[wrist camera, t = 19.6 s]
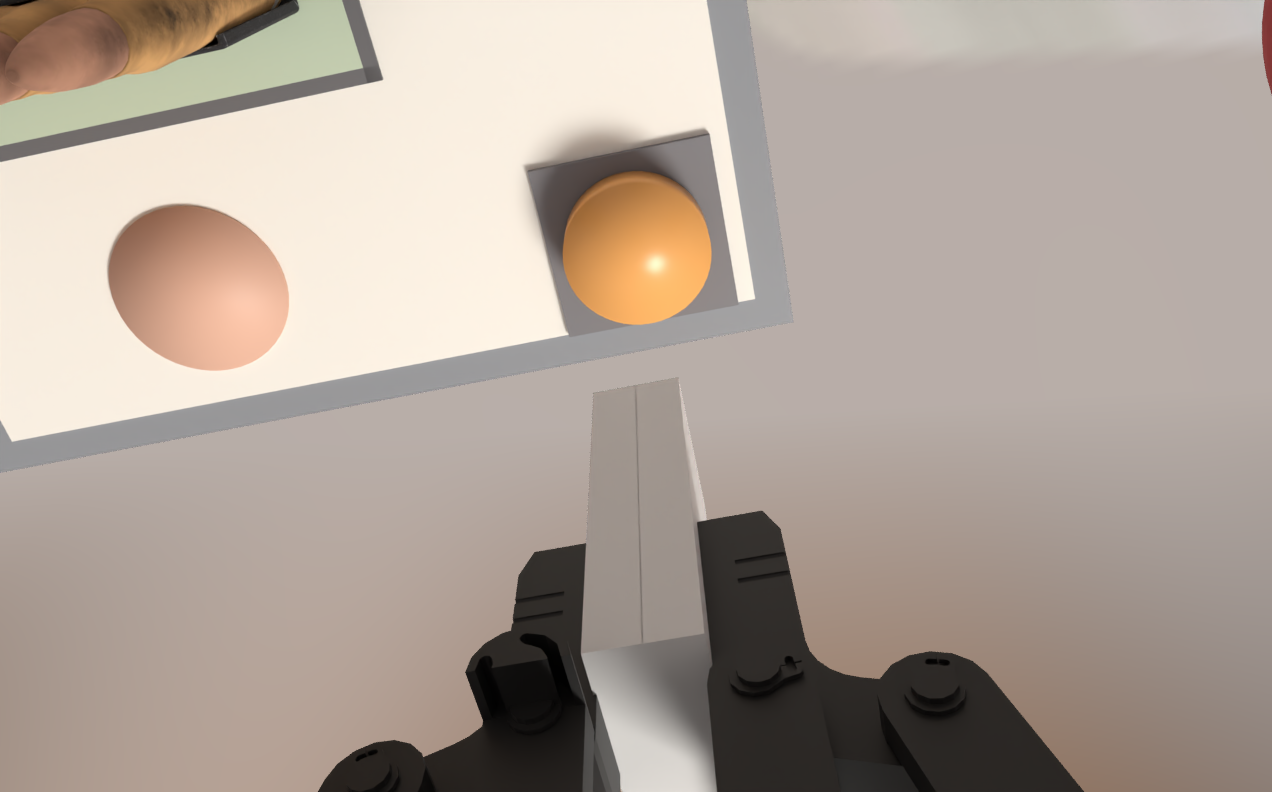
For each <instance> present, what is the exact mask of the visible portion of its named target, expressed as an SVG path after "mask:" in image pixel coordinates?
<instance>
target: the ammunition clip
mask: <svg viewBox="0 0 1272 792" xmlns="http://www.w3.org/2000/svg"><path fill="white" fill-rule="evenodd" d="M298 11H299V5H298V2H297V0H0V105H2V104H5V103H8V102H10V101H15V100H19V99H23V98H26V97H29V96H32V95H37V94H53V93H57V92H64V91H69V90H74V89H79V88H83V87H88V86H92V85H95V84H98V83H100V82H103V81H105V80H109V79H113V78H117V77H120V76H122V75H125V74H142V73H147V72H151V71H155V70H158V69H160V68H162V67H164V66H166V65H168V64H170V63H172V62H174V61H176V60H178V59H182V58H186V57H191V56H195V55H199V54H204V53H208V52H213V51H217V50H222V49H225V48H227V47H229V46H231V45H233V44H235V43H237V42H239V41H241V40H243V39H245V38H247V37H249V36H251V35H253V34H255V33H257V32H259V31H261V30H263V29H265V28H267V27H269V26H271V25H273V24H275V23H277V22H279V21H281V20H283V19H285V18H287V17H289V16H291V15H293V14H295V13H297V12H298Z"/></svg>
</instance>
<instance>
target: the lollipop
mask: <svg viewBox="0 0 1272 792" xmlns="http://www.w3.org/2000/svg"><path fill="white" fill-rule="evenodd" d="M1262 45H1263V57H1264V63H1265V69H1266V76H1267V79H1268V83H1269V86H1270V90H1271V94H1272V0H1265V2H1264V10H1263V20H1262Z"/></svg>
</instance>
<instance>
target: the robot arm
mask: <svg viewBox="0 0 1272 792" xmlns="http://www.w3.org/2000/svg"><path fill="white" fill-rule="evenodd" d="M515 600H516V604H515V607H514V614H513V624H512V629H511V631H508V632H505V633H502V634H500V635H499V636H497V637H495V638H494V639H492V640H490V641H488V642H487V643H485V644H484V645H483V646H482V647H481V648H480V649H479V650H478V651H477V652H476V653H475V654H474V655H473V656H472V658H471V660H470V662H469V665H468V667H467V670H466V672H465V673H466V675H467V678H468V681H469V683H470V686H471V689H472V692H473V694H474V697H475V700H476V703H477V705H478V708H479V710H480V714H481V716H482V719H483V725H482V727H481V728H480V729H478V730H477V731H476V732H474V733H473V734H472V735H470V736H469V737H467V738H465V739H463V740H461V741H459V742H457V743H456V744H454V745H451V746H449V747H446V748H444V749H442V750H439V751H437V752H435V753H432V754H430V755H428V756H425V757H423V756H422V753H421V752H419V751H418V750H417V749H416V748H415V747H414V746H412V745H411V744H409V743H405V742H400V741H396V740H392V741H384V742H376V743H373V744H371V745H368V746H366V747H363V748H361V749H358V750H356V751H355V752H353V753H352V754H350V755H349V756H348V757H346V758H345V759H344V760H342V761H341V762H340V763H338V764H337V765H336V766H335V768H334V769H333V770H332V771H331V773H330V774H329V775H328V776H327V778H326V779H325V780H324V782H323V784H322V786H321V787H320V789H319V791H318V792H620V787H621V790H622V792H1084V791H1083V790H1082V789H1081V787H1080V786H1079V785H1078V784H1077V783H1076V781H1075V780H1074V779H1073V778H1072V776H1071V775H1070V774H1069V773H1068V772H1067V770H1066V769H1065V768H1064V767H1063V765H1062V764H1061V763H1060V762H1059V760H1058V759H1057V758H1056V757H1055V756H1054V754H1053V753H1052V752H1051V751H1050V749H1049V748H1048V747H1047V746H1046V745H1045V743H1044V742H1043V741H1042V740H1041V738H1040V737H1039V736H1038V735H1037V734H1036V733H1035V731H1034V730H1033V729H1032V727H1031V726H1030V725H1029V724H1028V723H1027V721H1026V720H1025V719H1024V718H1023V717H1022V715H1021V714H1020V713H1019V712H1018V710H1017V709H1016V708H1015V707H1014V705H1013V704H1012V703H1011V702H1010V700H1009V699H1008V698H1007V697H1006V696H1005V694H1004V693H1003V692H1002V691H1001V689H1000V688H999V687H998V686H997V685H996V683H995V682H994V681H993V680H992V678H991V677H990V676H989V675H988V674H987V673H986V672H985V671H984V670H983V669H981V668H980V667H979V666H978V665H977V664H975V663H974V662H973V661H971V660H968V659H966V658H963V657H960V656H958V655H955V654H952V653H941V652H925V653H919V654H914V655H909V656H907V657H905V658H903V659H902V660H900V661H898V662H896V663H894V664H892V665H891V666H890V667H889V669H888V670H887V671H886V672H885V673H884V675H883V676H882V677H881V678H880V679H872V678H861V677H856V676H850V675H845V674H842V673H839V672H837V671H834V670H832V669H829V668H828V667H826V666H825V665H824V664H822V663H820V662H819V661H817V659H816V658H815V657H814V656H813V655H812V653H811V652H810V651H809V648H808V646H807V643H806V641H805V637H804V633H803V628H802V624H801V620H800V615H799V610H798V606H797V602H796V597H795V592H794V588H793V583H792V579H791V575H790V570H789V565H788V561H787V556H786V552H785V548H784V543H783V539H782V534H781V529H780V528H779V527H778V526H777V525H776V524H775V523H774V522H773V521H772V520H771V519H770V518H769V517H768V516H767V515H766V514H765V513H764V512H763V511H757V512H752V513H746V514H740V515H734V516H729V517H723V518H717V519H711V520H707V519H706V512H705V504H704V499H703V495H702V489H701V485H700V480H699V475H698V470H697V465H696V460H695V456H694V451H693V446H692V442H691V436H690V432H689V427H688V422H687V417H686V412H685V407H684V402H683V398H682V393H681V388H680V383H679V378H671V379H667V380H661V381H655V382H650V383H644V384H639V385H634V386H628V387H623V388H617V389H612V390H607V391H601V392H596V393H593V410H592V431H591V454H590V473H589V494H588V515H587V537H586V543H585V544H579V545H574V546H569V547H562V548H557V549H551V550H545V551H539V552H534V554H533V555H532V557H531V558H530V560H529V561H528V563H527V564H526V566H525V567H524V569H523V570H522V572H521V573H520V574H519V577H518V584H517V592H516V599H515Z"/></svg>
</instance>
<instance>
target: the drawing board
mask: <svg viewBox="0 0 1272 792" xmlns="http://www.w3.org/2000/svg"><path fill="white" fill-rule="evenodd" d="M297 2H298V5H299V11H298V12H297V13H295V14H293V15H291V16H289V17H287V18H285V19H283V20H281V21H279V22H277V23H275V24H273V25H271V26H269V27H267V28H265V29H263V30H261V31H259V32H257V33H255V34H253V35H251V36H249V37H247V38H245V39H243V40H241V41H239V42H237V43H235V44H233V45H231V46H229V47H227V48H225V49H222V50H217V51H213V52H208V53H204V54H199V55H195V56H191V57H186V58H182V59H178V60H176V61H174V62H172V63H170V64H168V65H166V66H164V67H162V68H160V69H158V70H155V71H151V72H147V73H142V74H125V75H122V76H120V77H117V78H113V79H109V80H105V81H103V82H100V83H98V84H95V85H92V86H88V87H83V88H79V89H74V90H69V91H64V92H57V93H53V94H37V95H32V96H29V97H26V98H23V99H19V100H15V101H10V102H8V103H5V104H2V105H0V473H1V472H7V471H12V470H17V469H22V468H28V467H33V466H38V465H43V464H48V463H54V462H59V461H65V460H70V459H75V458H80V457H86V456H91V455H96V454H101V453H107V452H112V451H117V450H122V449H128V448H133V447H138V446H143V445H149V444H154V443H159V442H165V441H170V440H175V439H180V438H186V437H191V436H196V435H202V434H207V433H212V432H217V431H222V430H228V429H233V428H238V427H244V426H249V425H254V424H259V423H264V422H270V421H275V420H280V419H286V418H291V417H296V416H301V415H307V414H312V413H317V412H323V411H328V410H333V409H339V408H344V407H349V406H354V405H360V404H364V403H370V402H375V401H381V400H386V399H391V398H396V397H402V396H407V395H412V394H417V393H422V392H428V391H433V390H439V389H444V388H449V387H455V386H460V385H465V384H470V383H476V382H481V381H486V380H491V379H497V378H502V377H507V376H512V375H518V374H523V373H528V372H534V371H539V370H544V369H549V368H554V367H560V366H565V365H570V364H576V363H581V362H586V361H591V360H597V359H602V358H607V357H613V356H617V355H623V354H628V353H634V352H638V351H644V350H650V349H654V348H660V347H665V346H671V345H676V344H681V343H686V342H692V341H697V340H702V339H707V338H713V337H718V336H723V335H729V334H734V333H739V332H744V331H750V330H755V329H760V328H765V327H770V326H776V325H781V324H787V323H792V322H793V315H792V309H791V302H790V295H789V288H788V281H787V274H786V267H785V261H784V254H783V247H782V240H781V233H780V226H779V220H778V213H777V206H776V199H775V192H774V186H773V178H772V172H771V165H770V159H769V151H768V145H767V137H766V131H765V124H764V117H763V110H762V103H761V97H760V90H759V83H758V76H757V69H756V62H755V56H754V48H753V42H752V35H751V28H750V21H749V14H748V7H747V0H297ZM628 171H645V172H652V173H656V174H660V175H662V176H665V177H667V178H670V179H671V180H673V181H675V182H677V183H678V184H680V185H681V186H682V187H684V188H685V189H686V190H687V191H688V192H689V193H690V194H691V195H692V196H693V198H694V199H695V200H696V202H697V203H698V205H699V207H700V208H701V210H702V212H703V215H704V217H705V221H706V225H707V229H708V233H709V237H710V242H711V251H712V253H711V265H710V270H709V273H708V277H707V279H706V281H705V284H704V286H703V288H702V289H701V291H700V292H699V294H698V295H697V296H696V297H695V299H694V300H693V301H692V302H691V303H690V304H689V305H688V306H687V307H686V308H684V309H683V310H681V311H680V312H679V313H677V314H675V315H673V316H671V317H670V318H667V319H665V320H662V321H659V322H655V323H650V324H643V325H631V324H623V323H619V322H614V321H612V320H609V319H606V318H604V317H602V316H600V315H598V314H596V313H595V312H594V311H592V310H591V309H589V308H588V307H587V306H586V305H585V304H584V303H582V301H581V300H580V299H579V298H578V297H577V296H576V294H575V293H574V291H573V289H572V288H571V286H570V284H569V282H568V280H567V277H566V274H565V270H564V265H563V244H564V236H565V229H566V225H567V221H568V218H569V215H570V213H571V211H572V209H573V207H574V205H575V203H576V202H577V201H578V199H579V198H580V197H581V196H582V195H583V194H584V193H585V192H586V191H587V189H589V188H590V187H591V186H593V185H594V184H595V183H597V182H599V181H600V180H602V179H604V178H606V177H609V176H611V175H614V174H618V173H621V172H628Z"/></svg>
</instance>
